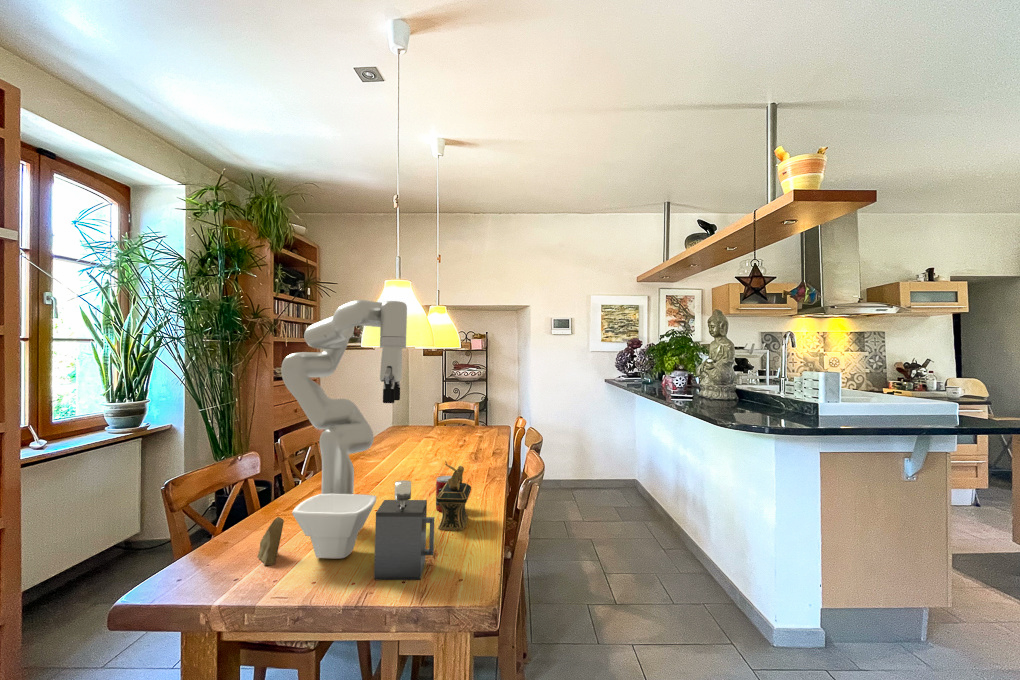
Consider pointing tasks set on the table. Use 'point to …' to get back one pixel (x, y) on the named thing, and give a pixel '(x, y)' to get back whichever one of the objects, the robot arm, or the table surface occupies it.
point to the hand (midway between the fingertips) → (391, 401)
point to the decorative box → (454, 501)
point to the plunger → (402, 491)
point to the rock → (271, 542)
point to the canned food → (440, 488)
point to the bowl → (333, 521)
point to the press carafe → (402, 540)
